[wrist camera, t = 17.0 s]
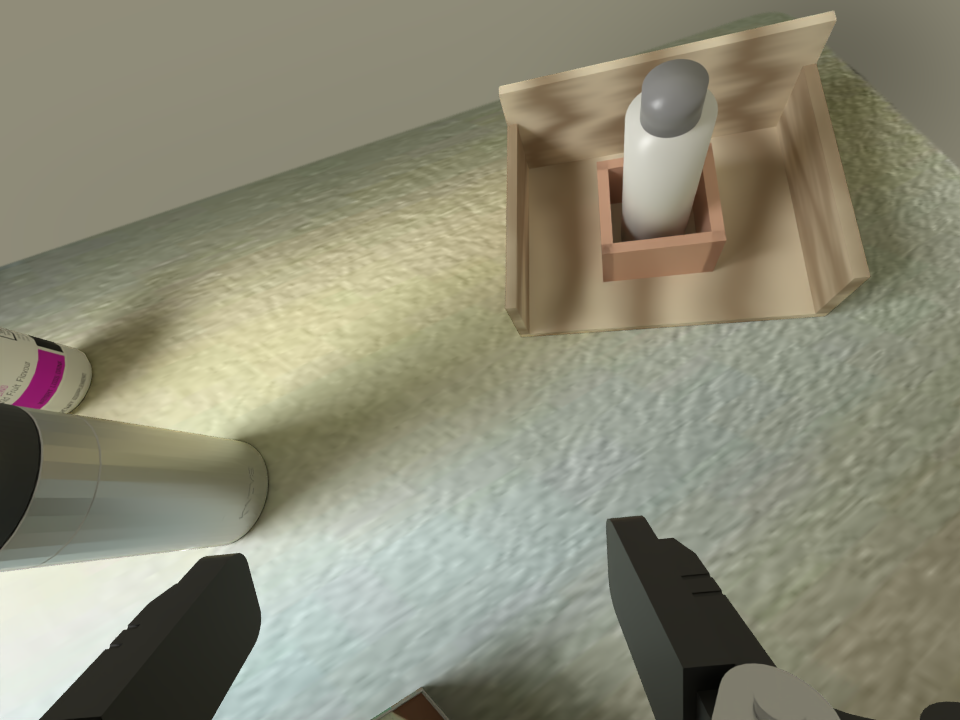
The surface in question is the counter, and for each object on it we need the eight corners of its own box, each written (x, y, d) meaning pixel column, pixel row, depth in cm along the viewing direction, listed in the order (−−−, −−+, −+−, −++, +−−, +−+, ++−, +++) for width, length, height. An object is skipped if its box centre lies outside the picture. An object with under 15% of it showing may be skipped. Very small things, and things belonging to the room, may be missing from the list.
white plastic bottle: (622, 262, 36) (629, 129, 23) (619, 211, 37) (623, 59, 24) (687, 255, 34) (732, 110, 22) (681, 203, 36) (720, 37, 23)
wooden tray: (521, 337, 37) (495, 290, 29) (521, 167, 42) (498, 86, 34) (824, 316, 31) (901, 250, 23) (783, 122, 36) (833, 10, 28)
